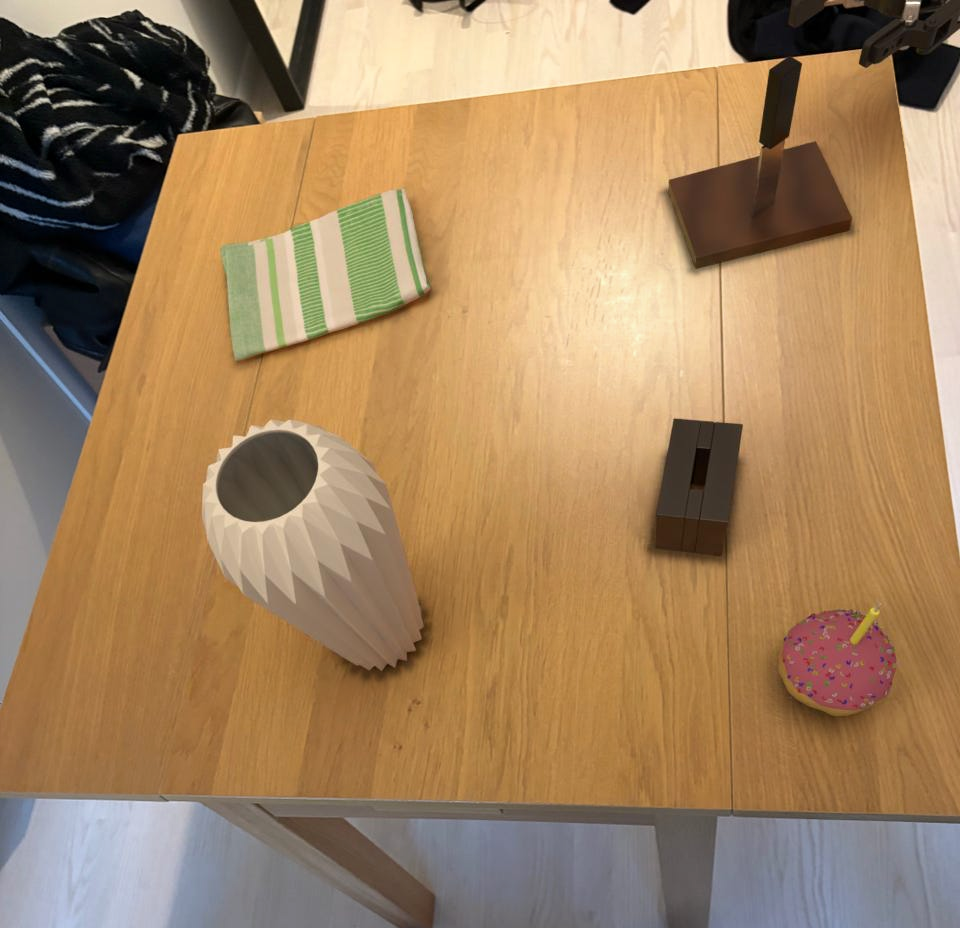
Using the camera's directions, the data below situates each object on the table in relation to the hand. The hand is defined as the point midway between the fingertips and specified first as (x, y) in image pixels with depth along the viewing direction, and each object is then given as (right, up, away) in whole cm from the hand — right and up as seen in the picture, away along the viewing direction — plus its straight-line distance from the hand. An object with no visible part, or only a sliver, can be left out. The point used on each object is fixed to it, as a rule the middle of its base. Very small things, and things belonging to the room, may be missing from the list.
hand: (827, 35), depth 73 cm
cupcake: (-2, -57, -5) cm, 57 cm away
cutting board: (-1, -7, +16) cm, 17 cm away
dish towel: (-49, -12, +23) cm, 55 cm away
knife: (-1, -8, +13) cm, 16 cm away
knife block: (-11, -41, +3) cm, 43 cm away
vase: (-40, -53, +4) cm, 67 cm away
